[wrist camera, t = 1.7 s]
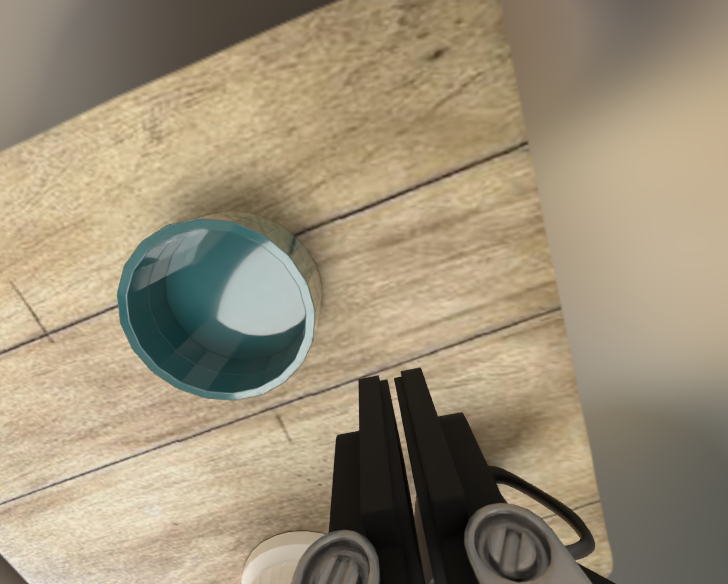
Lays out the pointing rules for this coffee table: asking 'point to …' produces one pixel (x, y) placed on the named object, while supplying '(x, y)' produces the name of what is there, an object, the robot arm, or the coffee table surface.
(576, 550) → the mug
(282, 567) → the decorative container
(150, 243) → the bowl
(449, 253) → the coffee table surface
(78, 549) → the coffee table surface
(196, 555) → the coffee table surface
